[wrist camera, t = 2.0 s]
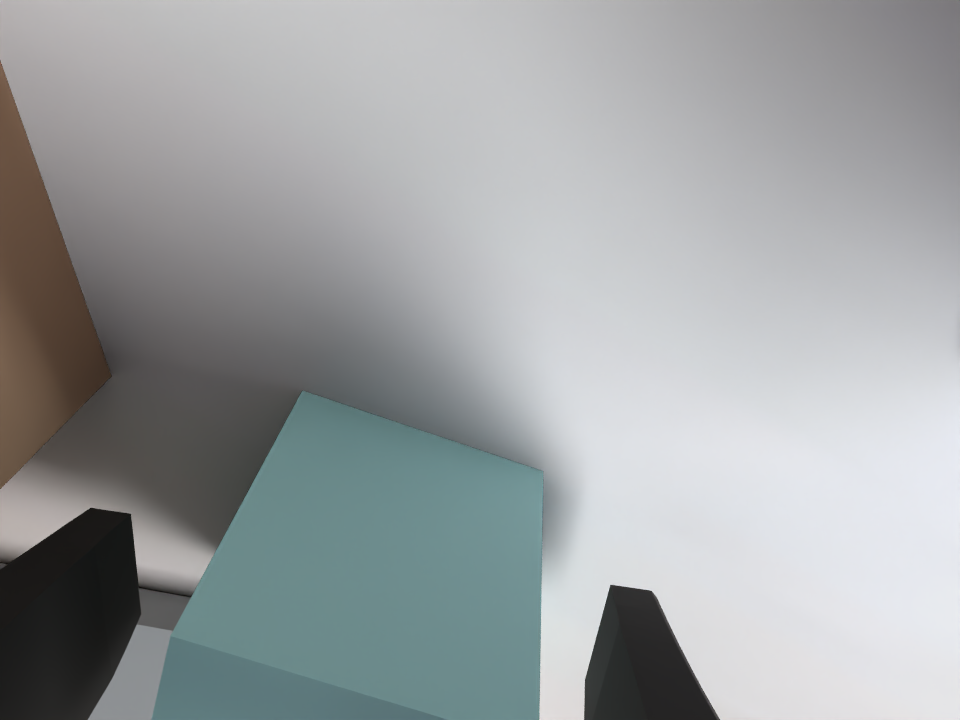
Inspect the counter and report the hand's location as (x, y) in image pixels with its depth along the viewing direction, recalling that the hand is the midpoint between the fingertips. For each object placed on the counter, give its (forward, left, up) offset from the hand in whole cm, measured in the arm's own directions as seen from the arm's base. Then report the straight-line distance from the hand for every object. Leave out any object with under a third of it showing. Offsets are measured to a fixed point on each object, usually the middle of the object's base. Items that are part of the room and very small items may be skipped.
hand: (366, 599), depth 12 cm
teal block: (0, 0, -2) cm, 2 cm away
